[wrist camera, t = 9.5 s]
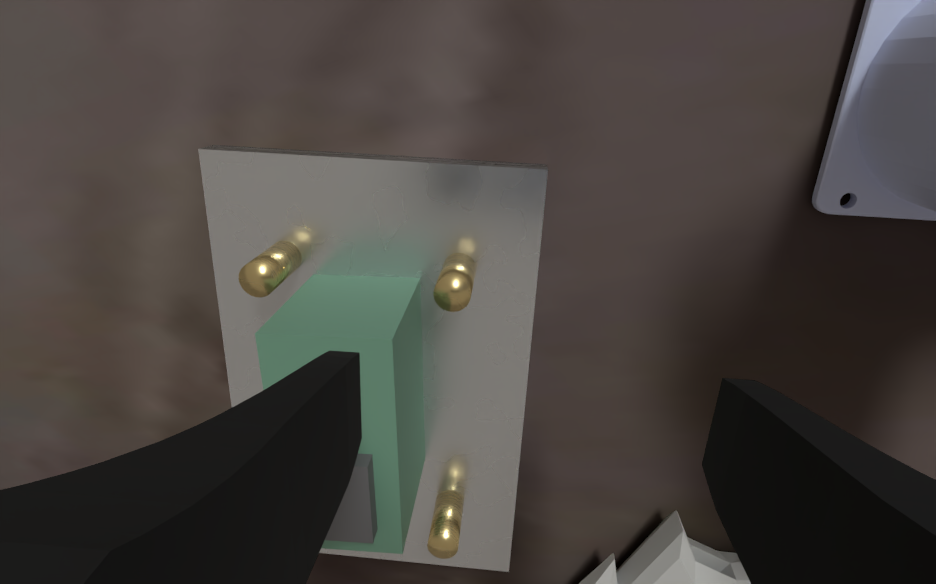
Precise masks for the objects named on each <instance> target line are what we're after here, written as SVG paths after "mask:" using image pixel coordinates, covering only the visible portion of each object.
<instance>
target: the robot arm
mask: <svg viewBox="0 0 936 584" xmlns="http://www.w3.org/2000/svg"><path fill="white" fill-rule="evenodd" d="M846 193H850V200H849V202H848V203H846V204H845V205H842V206H841V205H840V199H841V198H842V196H843V195H845V194H846ZM812 204H813V206H814V208H815V209H817V210H818V211H820V212H822V213H826V214H834V215H850V216H866V217H883V218H899V219H915V220H931V221H936V0H866V2H865V6H864V10H863V13H862V17H861V21H860V24H859V28H858V32H857V35H856V39H855V43H854V46H853V50H852V53H851V57H850V61H849V64H848V68H847V72H846V75H845V79H844V83H843V86H842V90H841V94H840V97H839V101H838V104H837V108H836V112H835V115H834V119H833V123H832V126H831V130H830V134H829V137H828V141H827V145H826V148H825V152H824V155H823V159H822V163H821V166H820V170H819V174H818V177H817V181H816V185H815V188H814V192H813V196H812ZM361 439H362V424H361V387H360V353H358V352H344V351H328V352H326V353H324V354H322V355H320V356H319V357H317V358H315V359H314V360H312V361H310V362H309V363H307V364H305V365H304V366H302V367H301V368H299V369H297V370H296V371H294V372H293V373H291V374H289V375H288V376H286V377H284V378H283V379H281V380H280V381H278V382H276V383H275V384H273V385H271V386H270V387H268V388H266V389H265V390H263V391H261V392H260V393H258V394H256V395H254V396H252V397H251V398H249V399H247V400H245V401H243V402H241V403H240V404H238V405H236V406H234V407H232V408H231V409H229V410H227V411H225V412H223V413H221V414H219V415H217V416H215V417H213V418H211V419H209V420H207V421H205V422H203V423H201V424H199V425H197V426H194V427H192V428H190V429H188V430H185V431H183V432H181V433H178V434H176V435H174V436H172V437H169V438H167V439H164V440H162V441H159V442H157V443H154V444H151V445H149V446H146V447H143V448H140V449H137V450H135V451H132V452H129V453H126V454H124V455H121V456H118V457H115V458H112V459H110V460H107V461H104V462H101V463H98V464H95V465H92V466H88V467H85V468H82V469H78V470H75V471H72V472H68V473H65V474H61V475H58V476H54V477H50V478H47V479H43V480H39V481H35V482H32V483H28V484H24V485H20V486H16V487H12V488H8V489H3V490H0V584H306V582H307V580H308V577H309V575H310V573H311V570H312V568H313V566H314V563H315V561H316V559H317V556H318V554H319V552H320V550H321V547H322V545H323V543H324V540H325V538H326V536H327V533H328V531H329V529H330V527H331V524H332V522H333V520H334V517H335V515H336V513H337V510H338V508H339V506H340V503H341V501H342V499H343V496H344V494H345V492H346V489H347V487H348V484H349V482H350V479H351V476H352V472H353V469H354V465H355V462H356V458H357V454H358V451H359V447H360V443H361ZM702 466H703V469H704V473H705V476H706V480H707V483H708V486H709V490H710V493H711V496H712V499H713V502H714V505H715V508H716V511H717V513H718V515H719V517H720V519H721V522H722V524H723V526H724V528H725V530H726V532H727V534H728V537H729V539H730V541H731V543H732V545H733V547H734V549H735V551H736V553H737V555H738V558H739V560H740V562H741V564H742V566H743V568H744V570H745V572H746V574H747V576H748V578H749V580H750V582H751V584H936V480H935V479H933V478H931V477H929V476H927V475H925V474H923V473H921V472H919V471H917V470H915V469H913V468H911V467H909V466H907V465H905V464H904V463H902V462H900V461H898V460H896V459H894V458H892V457H890V456H889V455H887V454H885V453H883V452H881V451H879V450H877V449H876V448H874V447H872V446H870V445H868V444H867V443H865V442H863V441H861V440H860V439H858V438H856V437H854V436H853V435H851V434H849V433H847V432H846V431H844V430H842V429H841V428H839V427H837V426H835V425H834V424H832V423H830V422H829V421H827V420H825V419H824V418H822V417H820V416H819V415H817V414H815V413H813V412H812V411H810V410H808V409H807V408H805V407H803V406H802V405H800V404H798V403H797V402H795V401H793V400H791V399H790V398H788V397H786V396H784V395H783V394H781V393H779V392H777V391H775V390H774V389H772V388H770V387H768V386H766V385H764V384H762V383H759V382H757V381H755V380H742V379H728V378H722V383H721V387H720V391H719V395H718V399H717V403H716V408H715V412H714V416H713V420H712V424H711V428H710V433H709V437H708V441H707V445H706V449H705V454H704V458H703V462H702Z"/></svg>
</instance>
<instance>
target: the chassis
mask: <svg viewBox="0 0 936 584" xmlns="http://www.w3.org/2000/svg"><path fill="white" fill-rule="evenodd" d="M198 151H199V158H200V166H201V174H202V181H203V189H204V197H205V205H206V212H207V220H208V228H209V235H210V243H211V251H212V259H213V266H214V274H215V282H216V289H217V297H218V305H219V312H220V320H221V328H222V336H223V343H224V351H225V359H226V366H227V374H228V382H229V390H230V397H231V405H232V407H234V406H236V405H238V404H240V403H241V402H243V401H245V400H247V399H249V398H251V397H252V396H254V395H256V394H258V393H260V392H261V391H263V385H262V378H261V372H260V365H259V358H258V351H257V345H256V338H255V333H256V332H257V331H258V330H259V329H260V328H261V327H262V326H263V325H264V324H265V323H266V322H267V321H268V320H269V319H270V318H271V317H272V316H273V315H274V314H275V313H276V312H277V311H278V310H279V309H280V308H281V307H282V306H283V305H284V303H285V302H286V301H287V300H288V299H289V298H290V297H291V296H292V295H293V294H294V293H295V292H296V291H297V290H298V289H299V288H300V287H301V286H302V285H303V284H304V283H305V282H306V281H307V280H308V279H309V278H310V277H311V276H312V275H343V276H373V277H402V278H420V284H421V320H422V357H423V394H424V430H425V462H424V466H423V470H422V474H421V479H420V483H419V487H418V491H417V496H416V500H415V504H414V508H413V512H412V517H411V521H410V525H409V529H408V534H407V538H406V542H405V546H404V551H403V554H395V553H381V552H366V551H352V550H338V549H323V548H321V550H320V552H319V553H326V554H336V555H346V556H356V557H366V558H376V559H386V560H395V561H405V562H415V563H425V564H435V565H445V566H455V567H465V568H475V569H485V570H494V571H504V572H509V565H510V555H511V545H512V534H513V524H514V514H515V503H516V493H517V483H518V472H519V462H520V452H521V441H522V431H523V421H524V410H525V400H526V390H527V379H528V369H529V359H530V348H531V338H532V328H533V317H534V307H535V297H536V286H537V276H538V266H539V255H540V245H541V235H542V224H543V214H544V204H545V193H546V183H547V173H548V169H547V165H541V164H524V163H507V162H490V161H473V160H456V159H438V158H421V157H404V156H387V155H370V154H353V153H336V152H319V151H302V150H285V149H268V148H251V147H234V146H217V145H212V146H208V147H204V148H200V149H198Z"/></svg>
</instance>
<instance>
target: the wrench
mask: <svg viewBox="0 0 936 584" xmlns="http://www.w3.org/2000/svg"><path fill="white" fill-rule="evenodd" d="M579 584H751V582H750V580H749V578H748V576H747V574H746V572H745V570H744V568H743V566H742V564H741V562H740V560H739V558H738V555H737V553H731V552H723V551H716V550H714V549H712V548H710V547H708V546H706V545H703V544H701V543H699V542H697V541H695V540H693V539H691V538H688V537H687V535H686V533H685V530H684V528H683V525H682V522H681V520H680V517H679V515H678V512H677V510H675V511H674V512H673V513H671V514H670V515H669V516H667V517H666V518H665V519H664V520H663V522H662V523H661V524H660V525H659V526H658V527H657V528H656V529H655V530H654V531H653V532H652V533H651V534H650V535H649V536H648V537H647V538H646V539H645V541H644V542H643V543H642V544H641V545H640V546H639V547H638V548H637V549H636V550H635V551H634V552H633V553H632V554H631V555H630V556H629V557H628V558H627V560H626V561H625V562H624V563H623V564H622V565H621V566H620V567H619V568H618V569H617V570H616V566H615V557H614V552H613V553H612V554H611V555H610V556H609V557H608V558H607V559H606V560H605V561H603V562H602V563H601V564H600V565H599V566H598V567H597V568H596V569H594V570H593V571H592V572H591V573H590V574H589V575H588V576H587V577H586V578H584V579H583V580H582V581H581V582H580V583H579Z"/></svg>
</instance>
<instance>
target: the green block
mask: <svg viewBox="0 0 936 584" xmlns="http://www.w3.org/2000/svg"><path fill="white" fill-rule="evenodd" d="M255 338H256V345H257V351H258V358H259V365H260V372H261V378H262V385H263V390H265V389H266V388H268V387H270V386H271V385H273V384H275V383H276V382H278V381H280V380H281V379H283V378H284V377H286V376H288V375H289V374H291V373H293V372H294V371H296V370H297V369H299V368H301V367H302V366H304V365H305V364H307V363H309V362H310V361H312V360H314V359H315V358H317V357H319V356H320V355H322V354H324V353H326V352H328V351H344V352H358V353H360V387H361V424H362V439H361V443H360V447H359V451H358V454H357V458H356V462H355V465H354V469H353V472H352V476H351V479H350V482H349V484H348V487H347V489H346V492H345V494H344V496H343V499H342V501H341V503H340V506H339V508H338V510H337V513H336V515H335V517H334V520H333V522H332V524H331V527H330V529H329V531H328V533H327V536H326V538H325V540H324V543H323V545H322V547H321V548H323V549H338V550H352V551H366V552H381V553H395V554H403V551H404V546H405V542H406V538H407V534H408V529H409V525H410V521H411V517H412V512H413V508H414V504H415V500H416V496H417V491H418V487H419V483H420V479H421V474H422V470H423V466H424V462H425V430H424V394H423V357H422V320H421V284H420V278H402V277H373V276H343V275H312V276H311V277H310V278H309V279H308V280H307V281H306V282H305V283H304V284H303V285H302V286H301V287H300V288H299V289H298V290H297V291H296V292H295V293H294V294H293V295H292V296H291V297H290V298H289V299H288V300H287V301H286V302H285V303H284V305H283V306H282V307H281V308H280V309H279V310H278V311H277V312H276V313H275V314H274V315H273V316H272V317H271V318H270V319H269V320H268V321H267V322H266V323H265V324H264V325H263V326H262V327H261V328H260V329H259V330H258V331H257V332H256V333H255Z"/></svg>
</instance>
